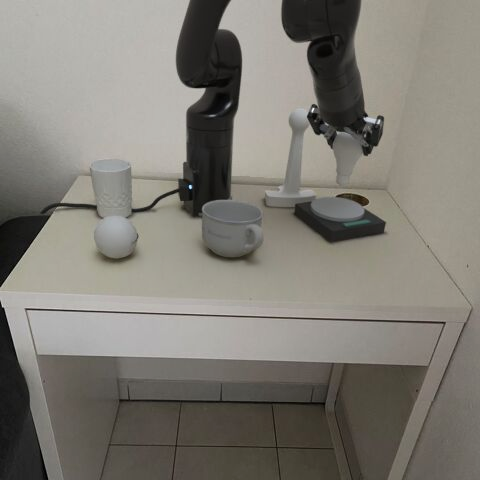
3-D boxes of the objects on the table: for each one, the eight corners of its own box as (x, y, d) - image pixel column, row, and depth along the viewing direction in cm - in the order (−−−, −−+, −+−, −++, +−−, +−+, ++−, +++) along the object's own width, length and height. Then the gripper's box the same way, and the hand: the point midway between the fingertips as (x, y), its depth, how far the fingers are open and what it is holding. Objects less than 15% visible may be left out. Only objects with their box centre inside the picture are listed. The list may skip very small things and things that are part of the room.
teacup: (193, 240, 93) (193, 200, 88) (246, 233, 97) (248, 194, 92) (220, 277, 83) (222, 233, 78) (278, 267, 86) (282, 225, 82)
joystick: (267, 207, 108) (276, 110, 96) (260, 194, 114) (268, 101, 102) (316, 206, 109) (330, 111, 98) (307, 193, 115) (319, 102, 104)
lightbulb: (356, 193, 96) (368, 135, 90) (325, 189, 97) (334, 131, 91) (356, 183, 101) (368, 127, 95) (327, 179, 102) (336, 123, 96)
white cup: (131, 204, 105) (128, 157, 99) (137, 219, 99) (133, 170, 93) (93, 207, 103) (87, 159, 97) (97, 222, 97) (90, 172, 91)
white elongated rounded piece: (131, 268, 83) (127, 228, 79) (89, 263, 84) (83, 223, 80) (149, 242, 91) (147, 205, 87) (111, 237, 92) (107, 200, 88)
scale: (330, 242, 95) (332, 227, 94) (294, 214, 106) (295, 199, 104) (383, 233, 100) (387, 218, 98) (344, 206, 110) (346, 193, 109)
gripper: (389, 77, 78) (394, 138, 94) (307, 65, 84) (324, 125, 99) (372, 118, 78) (379, 173, 93) (290, 104, 83) (309, 158, 99)
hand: (350, 148), depth 96 cm, fingers closed on lightbulb, 6 cm apart
